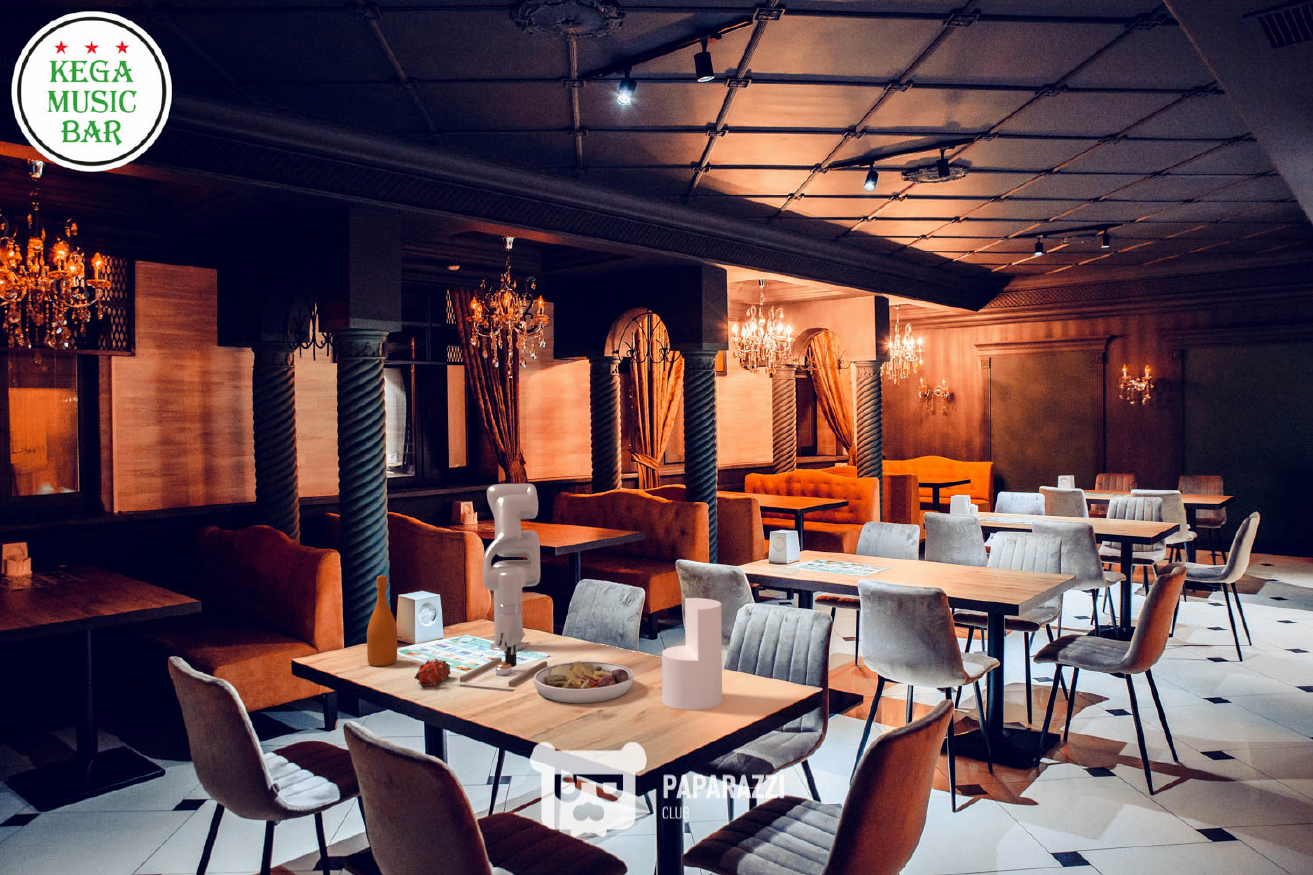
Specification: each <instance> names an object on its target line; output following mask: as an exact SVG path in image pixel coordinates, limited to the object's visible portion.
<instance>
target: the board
mask: <svg viewBox="0 0 1313 875" xmlns="http://www.w3.org/2000/svg"><path fill="white" fill-rule="evenodd" d="M502 659H503V658H502V657H497V658H495V659H492V660H491V661H489V662H487V663H485V664H483V665H480V666H479V667H477V668H474V669H473V670H471V671H469V672H467V673H465V674H463V675H461V676H459V683H461V684H459V687H460V688H468V689H469V688H470V689H478V690H479V689H480V690H489V691H499V692H509V693H510V692H511V693H512V692H514V691H516V689H512V688H514V687H515V686H517V685H519V684H520V683H522V682H523V681H525V680H527V679H529V678H530V677H532V676H534V675H535V674H536V673H537V672H538V671H540V670H542V669H544V668H547V667H548V661H542V662H540V663H538V664H526V663H517V665H516V666H515V667H512V674H511V675H507V677H508V676H509V677H510V678H508V679H506V680H505V681H502V682H501V683H491V682H483V681H482V682H481V680H483V679H486V678H487V677H489V676H491V675H496V666H497V664H498V663H504V662H505V661H503V660H502ZM496 676H497V675H496ZM462 683H467V684H462ZM470 684H471V685H470ZM472 684H477V685H472ZM482 685H487V686H482ZM491 686H493V687H491ZM494 686H497V687H494ZM498 686H499V687H498ZM502 687H507V688H502Z"/></svg>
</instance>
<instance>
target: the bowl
mask: <svg viewBox="0 0 1313 875" xmlns="http://www.w3.org/2000/svg"><path fill="white" fill-rule="evenodd" d="M634 675H635V674H634V671H633V670H632V669H630V668H629V667H627V666H624V665H621V664H618V663H617V664H616V663H611V662H603V661H602V662H601V661H579V660H578V661H574V662H567V663H561V664H560V663H559V664H554V665H551V666H547V667H545V668H544V669H542V670H540V671H538V672H537V673H535V674H534V675H533V684H534V687H535V690H536V691H537V692H538V693H539V694H540V695H541V696H543V697H544V698H547V699H548V700H550V701H551V700H552V701H555V702H558V703H559V702H560V703H567V704H591V703H592V704H593V703H601V702H605V701H609V700H613V699H615V698H619V697H620V696H623V695H624V694H625V693H627V692H628V691H629V690H630V688H631V687H632V686H633V683H634Z"/></svg>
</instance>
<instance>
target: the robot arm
mask: <svg viewBox="0 0 1313 875" xmlns="http://www.w3.org/2000/svg"><path fill="white" fill-rule="evenodd" d="M537 493H538V492H537V489H536V486H535V485H534V484H533V483H499V484H493V485H490V486H489V487H488V488H487V490H486V497H487V502H488V505H489V508H490V510H491V513H492V515H493V518H494V540H493V541H492V542H491V543H490V544H489V546H488V547H487V548H486V550H485V553H484V555H483V559H482V582H483V584H482V585H483V586H484V588H485V589H486V590H487V591H493V621H494V622H493V623H494V625H493V626H494V628H493V629H494V630H493V631H494V632H493V633H494V643H493V642H492V643H491V644H490V646H489V647H490V650H492V651H501V652H504V655H505V656H504V657H505V658H504V660H505V661H504V662H507V663H511V666H512V667H515V666H516V665H517V664H518V663H517V654H518V651H521V650H523V649H525V647H526V643H525V641H524V642H523V641H522V640H523V638H524V637H525V636H526V633H525V632H524V626H523V588H525V587H535V586H537V585H538V584H539V583H540V579H541V548H540V546H541V544H540V537H539V534H538V533H537V532H536V531H535V530H533V529H532V530H530V529H522V527H521V526H522V525H521V520H530V519H533V520H534V519H535V518H536V517H537V516H538V512H539V499H538V494H537ZM495 555H498V557H503V558H510V557H511V558H514V557H517V558H518V557H519V558H520V557H524V558H527V559H522V560H521V559H518V560H516V559H515V560H514V559H512V560H510V559H509V560H501V561H497V562H495V563H494V564H493V565H492V560H493V558H494V557H495Z"/></svg>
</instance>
